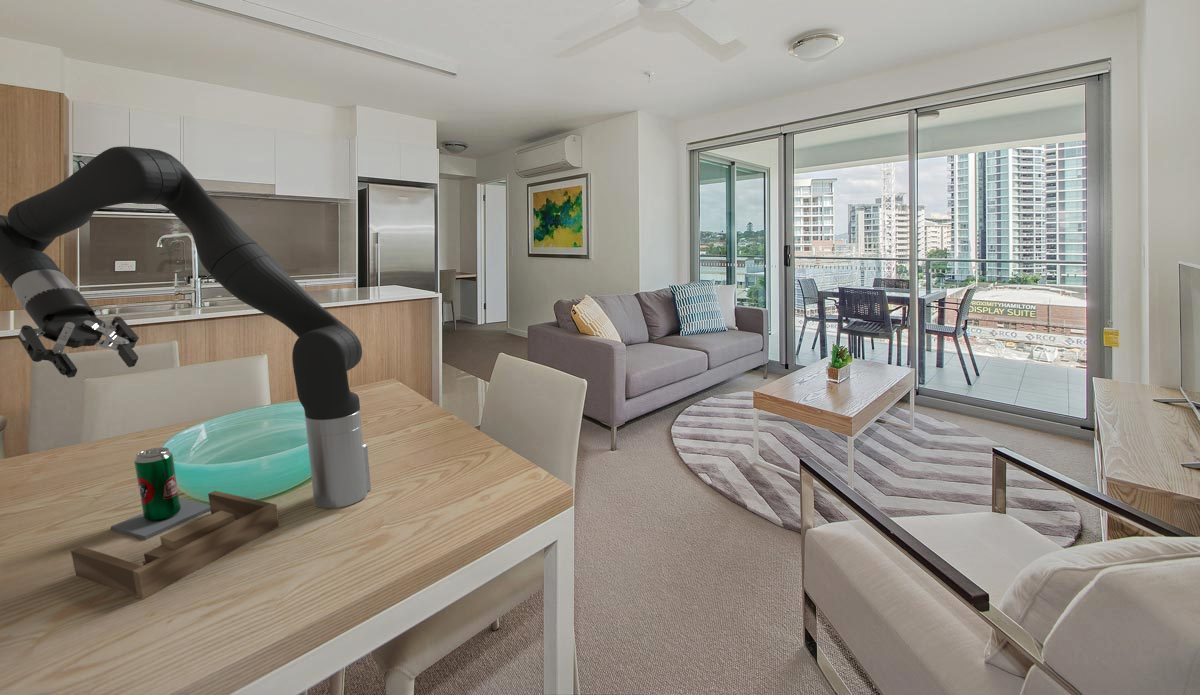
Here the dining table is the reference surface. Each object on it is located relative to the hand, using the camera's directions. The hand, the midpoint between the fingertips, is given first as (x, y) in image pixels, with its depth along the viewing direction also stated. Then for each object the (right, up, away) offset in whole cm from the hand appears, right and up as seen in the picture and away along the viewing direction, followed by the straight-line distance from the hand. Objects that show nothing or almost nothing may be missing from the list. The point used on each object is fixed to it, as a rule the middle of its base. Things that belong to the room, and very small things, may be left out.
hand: (104, 369), depth 90 cm
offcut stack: (+22, -29, -8) cm, 37 cm away
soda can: (+9, -26, +2) cm, 28 cm away
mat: (+9, -27, +2) cm, 28 cm away
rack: (+20, -28, -7) cm, 35 cm away
